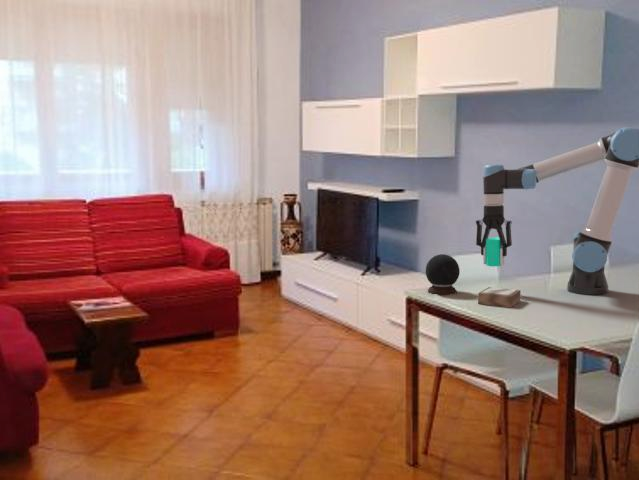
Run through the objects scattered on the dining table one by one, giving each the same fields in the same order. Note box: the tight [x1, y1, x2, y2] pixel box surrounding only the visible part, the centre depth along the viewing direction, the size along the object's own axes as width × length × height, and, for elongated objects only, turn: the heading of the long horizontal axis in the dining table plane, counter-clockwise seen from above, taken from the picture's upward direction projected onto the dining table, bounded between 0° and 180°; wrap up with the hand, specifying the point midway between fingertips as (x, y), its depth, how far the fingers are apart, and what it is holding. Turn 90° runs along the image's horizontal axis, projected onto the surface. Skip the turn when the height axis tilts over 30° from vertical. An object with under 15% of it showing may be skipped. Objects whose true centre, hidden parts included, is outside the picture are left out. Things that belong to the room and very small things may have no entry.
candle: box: [485, 236, 502, 267], centre depth 279 cm, size 6×6×12 cm
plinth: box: [477, 287, 521, 309], centre depth 263 cm, size 12×12×4 cm
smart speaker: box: [425, 253, 460, 296], centre depth 281 cm, size 13×13×15 cm
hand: (493, 263), depth 280 cm, fingers closed on candle, 6 cm apart
